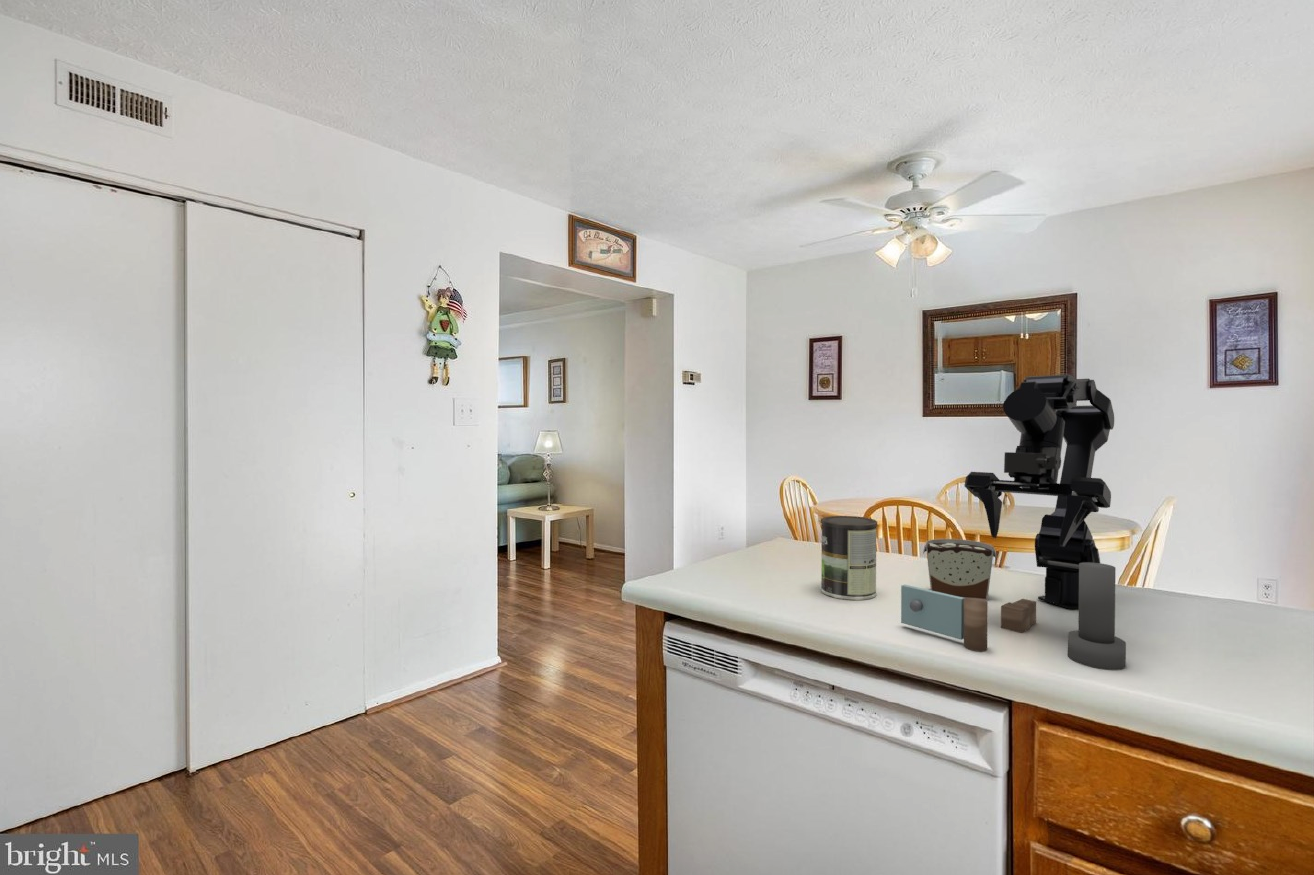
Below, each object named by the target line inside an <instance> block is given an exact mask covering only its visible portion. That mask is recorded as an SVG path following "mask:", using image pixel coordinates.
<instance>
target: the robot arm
mask: <svg viewBox="0 0 1314 875" xmlns="http://www.w3.org/2000/svg"><path fill="white" fill-rule="evenodd" d="M1079 401H1085V402H1086V401H1087V402H1088V401H1089V403H1090V405H1076V403H1077V402H1079ZM1002 403H1003V404H1002V408H1003V412H1004V413H1005V416H1007V418H1008V419H1009V421H1010V422H1011V423H1012V425H1013V426H1014V427H1015V428H1016V431H1019V433H1020V439H1019V445H1016V448H1015V452H1011V451H1010V452H1007V451H1005V452H1004V460H1003V461H1004V462H1003V463H1004V464H1003V465H1004V466H1003V473H1004V474H1005V473H1006V474H1008V477H1010V478H1013V480H1006V479H1005V480H1004V479H999V478H998V476H997V475H996V474H995V473H994V472H985V471H983V472H981V471H970V472H969V473H968V474H967V475H966V477H965V480H964V488H966V490H967V491H968V492H969V493H970V494H971V495H973V496H974V497H975V498H977V499H979V500H980V502H982V504H983V506H984V509H985V513H986V516H987V522H988V526H989V529H990V530H989V531H990V535H991V538H993V539H997V537H998V534H999V531H1000V530H999V529H1000V522H1001V514H1002V506H1003V500H1001V499H1000V497H1001V496H1002V494H1003V493H1011V494H1025V495H1026V494H1027V495H1039V496H1052V497H1053V496H1054V497H1056V498H1057V499H1056V503H1055V510H1054V511H1053V512H1052V513H1051V514H1047V513H1046V514H1044V516H1042V518H1041V524H1040V529H1039V532H1038V533H1036V534H1035V538H1034V552H1035V560H1036V567H1037V568H1045V577H1044V595H1039V596H1037V600H1039V601H1043V602H1046V603H1049V604H1052V605H1056V606H1059V607H1062V608H1065V609H1068V610H1074V609H1075V610H1076V609H1079V563H1083V562H1091V563H1101V558H1100V553H1099V549H1098V548H1097V545H1096V542H1095V540H1094V538H1093V535H1092V532H1091V530H1090V528H1089V526H1088V524H1087V523H1086V521H1085V520H1086V518H1087V517H1088V516H1089V515H1090V514H1091V513H1098V512H1099V511H1100V508H1101V509H1107V508H1111V503H1112V492H1111V490H1110V488H1109V486H1108V485H1107V483H1106V481H1104V480H1103V479H1102V478H1101V477H1092V475H1093V467H1094V461H1095V456H1096V452H1097V451H1098V450H1099V449H1101V447H1103V446H1104V445H1105V444H1106V443H1107V442H1108V440H1109V434H1110V431H1111V430H1113V429H1114V428H1115V413H1114V409H1113V404H1112V401H1111V398H1109V397H1108V396H1107V395H1105V394H1104V393H1103V392H1102V391H1100V390H1099V389H1098V388H1097V385H1096V382H1095V380H1094V379H1090V378H1075V377H1074V376H1072V375H1071V374H1051V375H1050V374H1049V375H1034V376H1033V375H1030V376H1026V377H1025V378H1024V379H1023V381H1021V382H1020V384H1019V386H1018V388H1017V389H1016V390H1013V391H1012V392H1011V393H1009V394H1008V396H1007V397H1006V398H1005V399H1004V401H1003V402H1002ZM1063 440H1064V442H1065V443H1066V447H1065V453H1064V459H1063V464H1062V455H1061V454H1062V447H1063ZM1061 466H1062V471H1061V474H1060V475H1061V476H1060V481H1059V482H1058V476H1059V472H1060V471H1059V470H1060V468H1061Z"/></svg>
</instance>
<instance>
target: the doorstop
mask: <svg viewBox="0 0 1314 875" xmlns="http://www.w3.org/2000/svg"><path fill="white" fill-rule="evenodd" d="M1116 571H1117V570H1116V566H1114V565H1112V564H1106V563H1101V562H1100V563H1091V562H1083V563H1079V608H1078V630H1071V631H1068V632H1067V658H1069V660H1072V661H1073V662H1075V663H1077V664H1079V665H1083V666H1086V667H1091V668H1094V669H1095V668H1096V669H1099V670H1100V669H1101V670H1108V671H1109V670H1111V671H1117V670H1123V669H1125V668H1126V666H1127V663H1126V662H1127V661H1126V660H1127V642H1126V641H1125V640H1123V639H1122V638H1120V637H1117V636H1115V635H1116Z"/></svg>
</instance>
